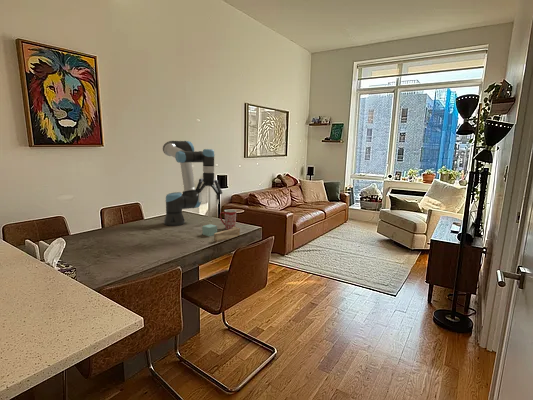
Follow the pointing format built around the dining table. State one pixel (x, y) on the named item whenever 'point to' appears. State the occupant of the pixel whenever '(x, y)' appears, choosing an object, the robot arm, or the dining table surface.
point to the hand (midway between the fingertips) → (208, 203)
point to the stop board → (227, 234)
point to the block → (209, 230)
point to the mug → (229, 218)
